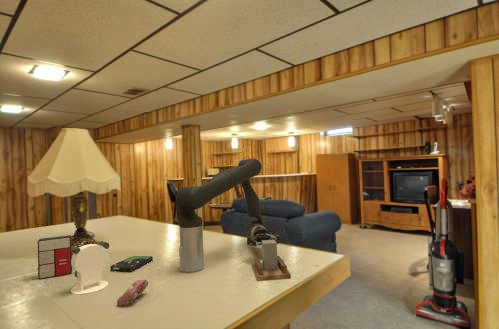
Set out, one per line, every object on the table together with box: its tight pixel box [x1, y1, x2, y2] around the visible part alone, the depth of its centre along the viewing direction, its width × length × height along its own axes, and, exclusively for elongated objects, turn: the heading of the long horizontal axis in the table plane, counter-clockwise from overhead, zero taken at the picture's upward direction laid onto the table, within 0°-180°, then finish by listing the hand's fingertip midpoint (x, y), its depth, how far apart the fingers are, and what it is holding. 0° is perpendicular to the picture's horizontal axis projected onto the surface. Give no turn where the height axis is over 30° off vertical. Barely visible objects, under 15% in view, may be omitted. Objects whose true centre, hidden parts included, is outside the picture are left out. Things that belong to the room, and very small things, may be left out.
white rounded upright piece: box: [70, 240, 110, 296], centre depth 101 cm, size 12×11×15 cm
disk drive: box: [110, 255, 154, 273], centre depth 123 cm, size 10×3×15 cm
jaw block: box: [261, 240, 278, 271], centre depth 109 cm, size 5×5×10 cm
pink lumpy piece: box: [116, 278, 149, 307], centre depth 89 cm, size 10×5×7 cm, turn 170°
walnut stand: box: [251, 255, 292, 282], centre depth 108 cm, size 12×15×4 cm
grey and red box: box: [37, 234, 73, 280], centre depth 114 cm, size 11×4×15 cm, turn 118°
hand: (265, 243), depth 117 cm, fingers open, 8 cm apart
